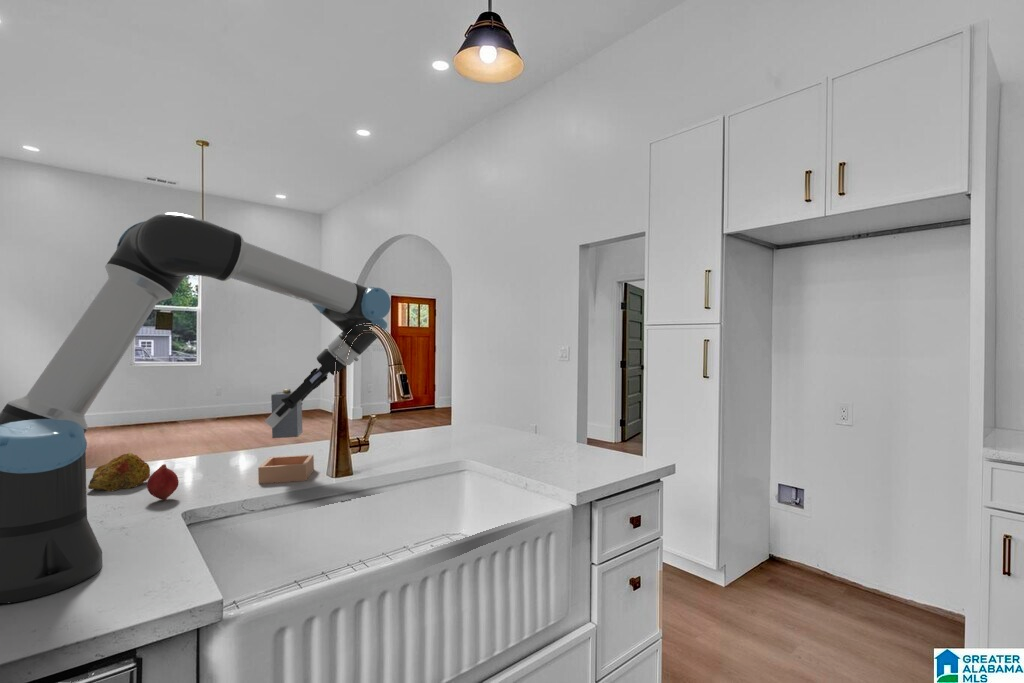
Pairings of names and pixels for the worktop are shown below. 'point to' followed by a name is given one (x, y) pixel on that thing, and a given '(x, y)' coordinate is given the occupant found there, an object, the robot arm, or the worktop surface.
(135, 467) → the rock
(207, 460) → the worktop surface
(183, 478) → the worktop surface
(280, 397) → the block
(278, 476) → the tray
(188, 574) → the worktop surface
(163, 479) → the onion
